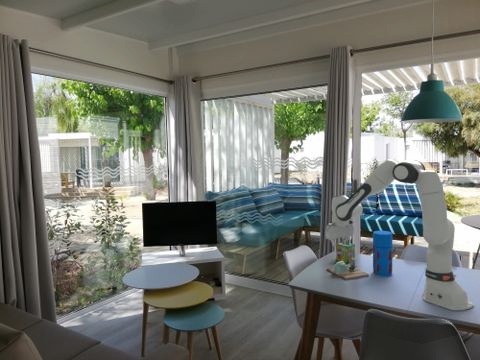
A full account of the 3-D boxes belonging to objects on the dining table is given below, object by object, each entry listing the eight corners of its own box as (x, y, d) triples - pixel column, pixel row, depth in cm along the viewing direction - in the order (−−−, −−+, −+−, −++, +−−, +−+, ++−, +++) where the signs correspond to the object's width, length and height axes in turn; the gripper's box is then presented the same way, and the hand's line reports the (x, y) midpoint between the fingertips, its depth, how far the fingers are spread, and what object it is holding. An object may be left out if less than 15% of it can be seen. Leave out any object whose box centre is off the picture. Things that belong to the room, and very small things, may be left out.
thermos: (389, 270, 228) (389, 230, 227) (394, 276, 218) (394, 234, 216) (371, 270, 230) (370, 230, 228) (375, 276, 219) (375, 234, 217)
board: (368, 276, 220) (368, 273, 220) (344, 280, 215) (344, 277, 215) (348, 266, 239) (348, 264, 239) (325, 270, 233) (325, 267, 233)
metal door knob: (358, 270, 227) (358, 259, 226) (351, 271, 225) (351, 260, 225) (353, 268, 232) (353, 257, 231) (346, 269, 230) (346, 258, 229)
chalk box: (335, 261, 252) (335, 239, 251) (343, 258, 258) (343, 237, 257) (348, 263, 245) (348, 241, 244) (355, 260, 251) (355, 239, 250)
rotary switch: (340, 273, 221) (340, 263, 221) (333, 271, 226) (333, 261, 226) (347, 271, 224) (347, 262, 224) (340, 269, 229) (340, 259, 228)
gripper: (330, 224, 215) (330, 248, 216) (355, 220, 225) (356, 243, 226) (322, 223, 221) (323, 246, 222) (347, 219, 231) (348, 241, 232)
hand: (340, 244), depth 224 cm, fingers open, 8 cm apart
